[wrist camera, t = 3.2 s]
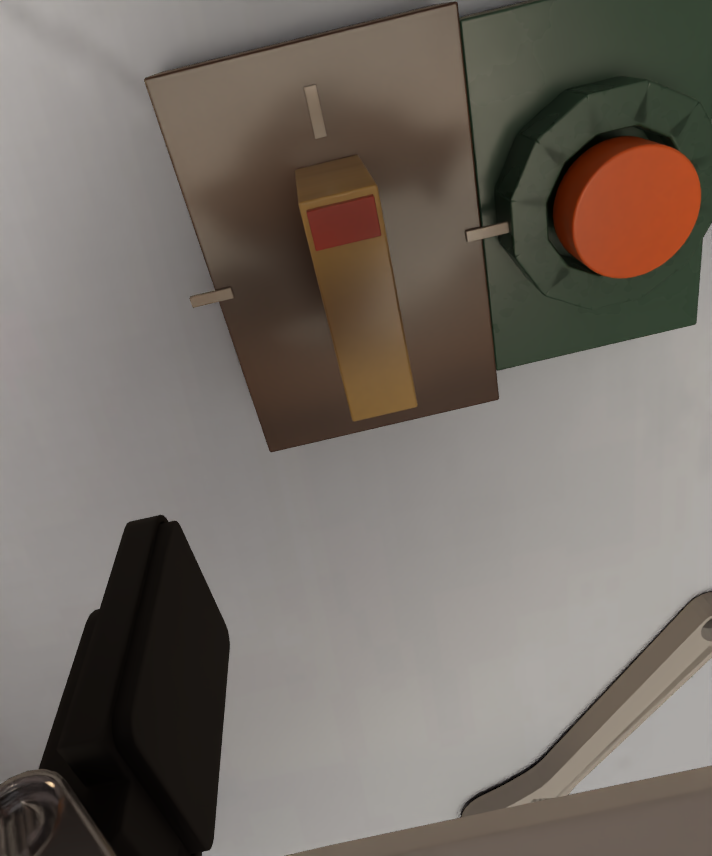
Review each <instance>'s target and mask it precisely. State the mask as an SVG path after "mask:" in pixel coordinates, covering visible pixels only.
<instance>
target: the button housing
mask: <svg viewBox="0 0 712 856" xmlns="http://www.w3.org/2000/svg"><path fill="white" fill-rule="evenodd" d="M459 21H460V31H461V40H462V50H463V59H464V69H465V78H466V88H467V97H468V107H469V116H470V126H471V135H472V145H473V155H474V164H475V174H476V183H477V193H478V202H479V212H480V221H481V227H483V226H488V225H492V224H496V223H500V222H504V221H508V224H509V233H506V234H501V235H497V236H493V237H489V238H484V239H482V240H483V250H484V259H485V269H486V278H487V288H488V297H489V307H490V317H491V326H492V336H493V345H494V355H495V364H496V370H502V369H506V368H511V367H515V366H519V365H523V364H528V363H532V362H536V361H541V360H545V359H549V358H554V357H558V356H562V355H566V354H571V353H575V352H579V351H584V350H588V349H592V348H596V347H601V346H605V345H609V344H614V343H618V342H622V341H627V340H631V339H635V338H639V337H644V336H648V335H652V334H657V333H661V332H665V331H669V330H674V329H678V328H682V327H687V326H691V325H695V324H696V321H697V308H698V295H699V282H700V269H701V255H702V242H703V237H704V235H705V233H706V232H707V230H708V228H709V227H710V225H711V223H712V0H528V1H524V2H520V3H516V4H512V5H508V6H504V7H500V8H496V9H492V10H487V11H483V12H479V13H475V14H471V15H467V16H463V17H459ZM620 136H634V137H640V138H643V139H647V140H650V141H653V142H657V143H660V144H663V145H666V146H670V147H672V148H674V149H676V150H678V151H680V152H681V153H682V154H684V155H685V156H686V157H687V158H688V159H689V160H690V162H691V163H692V165H693V166H694V168H695V170H696V172H697V174H698V178H699V181H700V187H701V204H700V210H699V214H698V217H697V220H696V223H695V225H694V227H693V229H692V231H691V233H690V235H689V237H688V238H687V240H686V241H685V243H684V244H683V245H682V247H681V248H680V249H679V250H678V251H677V252H676V253H675V254H674V255H673V256H672V257H671V258H670V259H669V260H668V261H666V262H665V263H664V264H662V265H661V266H659V267H658V268H656V269H654V270H652V271H650V272H648V273H645V274H643V275H639V276H636V277H631V278H620V279H618V278H610V277H605V276H602V275H600V274H597V273H596V272H594V271H592V270H591V269H589V268H588V267H587V266H586V265H584V264H583V263H582V262H580V261H579V260H578V259H576V258H575V257H574V256H573V255H571V254H570V253H569V252H568V251H567V250H566V249H565V248H564V247H563V246H562V244H561V242H560V241H559V239H558V237H557V234H556V232H555V228H554V222H553V206H554V200H555V196H556V192H557V190H558V187H559V185H560V182H561V181H562V179H563V177H564V175H565V173H566V172H567V170H568V169H569V168H570V166H571V165H572V164H573V163H574V162H575V161H576V160H577V159H578V158H579V157H580V156H581V155H582V154H583V153H584V152H586V151H587V150H588V149H590V148H591V147H593V146H594V145H596V144H598V143H600V142H602V141H605V140H607V139H611V138H614V137H620Z"/></svg>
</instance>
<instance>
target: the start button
mask: <svg viewBox="0 0 712 856" xmlns="http://www.w3.org/2000/svg"><path fill="white" fill-rule="evenodd" d="M700 204H701V187H700V181H699V178H698V174H697V172H696V170H695V168H694V166H693V165H692V163H691V162H690V160H689V159H688V158H687V157H686V156H685V155H684V154H682V153H681V152H680V151H678V150H676V149H674V148H672V147H670V146H666V145H663V144H660V143H657V142H653V141H650V140H647V139H643V138H640V137H634V136H620V137H614V138H611V139H607V140H605V141H602V142H600V143H598V144H596V145H594V146H593V147H591V148H590V149H588V150H587V151H586V152H584V153H583V154H582V155H581V156H580V157H579V158H578V159H577V160H576V161H575V162H574V163H573V164H572V165H571V166H570V168H569V169H568V170H567V172H566V173H565V175H564V177H563V179H562V181H561V182H560V185H559V187H558V190H557V192H556V196H555V200H554V206H553V222H554V228H555V232H556V234H557V237H558V239H559V241H560V242H561V244H562V246H563V247H564V248H565V249H566V250H567V251H568V252H569V253H570V254H571V255H573V256H574V257H575V258H576V259H578V260H579V261H580V262H582V263H583V264H584V265H586V266H587V267H588V268H589V269H591V270H592V271H594V272H596V273H597V274H600V275H602V276H605V277H610V278H618V279H620V278H631V277H636V276H639V275H643V274H645V273H648V272H650V271H652V270H654V269H656V268H658V267H659V266H661V265H662V264H664V263H665V262H666V261H668V260H669V259H670V258H671V257H672V256H673V255H674V254H675V253H676V252H677V251H678V250H679V249H680V248H681V247H682V245H683V244H684V243H685V241H686V240H687V238H688V237H689V235H690V233H691V231H692V229H693V227H694V225H695V223H696V220H697V217H698V214H699V210H700Z"/></svg>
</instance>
